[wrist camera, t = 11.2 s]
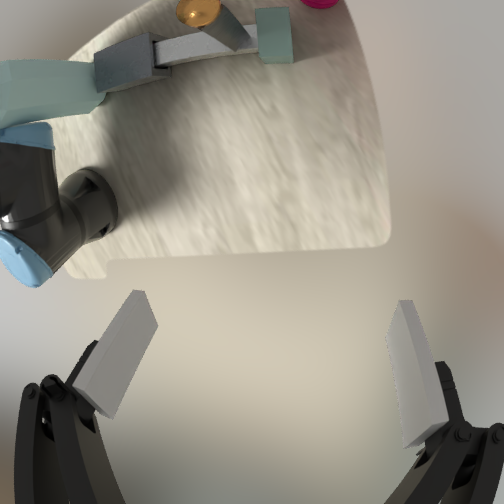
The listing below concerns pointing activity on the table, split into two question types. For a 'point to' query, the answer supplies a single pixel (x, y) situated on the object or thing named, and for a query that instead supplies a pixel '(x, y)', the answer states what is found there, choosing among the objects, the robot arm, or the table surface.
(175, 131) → the table surface
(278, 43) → the socket block
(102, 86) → the charcoal rectangular brick
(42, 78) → the water bottle
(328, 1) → the pepper mill
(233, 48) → the gray hammer
